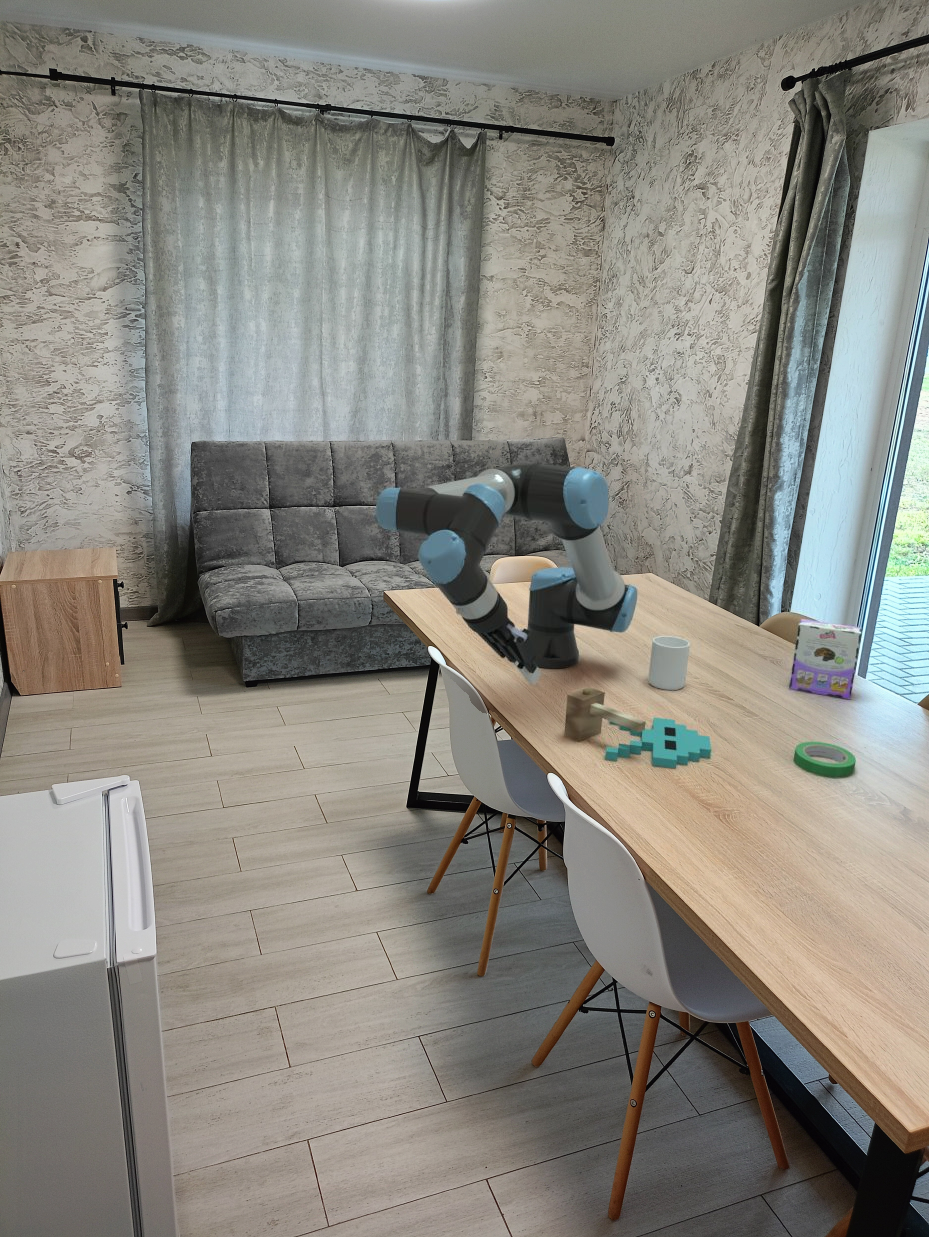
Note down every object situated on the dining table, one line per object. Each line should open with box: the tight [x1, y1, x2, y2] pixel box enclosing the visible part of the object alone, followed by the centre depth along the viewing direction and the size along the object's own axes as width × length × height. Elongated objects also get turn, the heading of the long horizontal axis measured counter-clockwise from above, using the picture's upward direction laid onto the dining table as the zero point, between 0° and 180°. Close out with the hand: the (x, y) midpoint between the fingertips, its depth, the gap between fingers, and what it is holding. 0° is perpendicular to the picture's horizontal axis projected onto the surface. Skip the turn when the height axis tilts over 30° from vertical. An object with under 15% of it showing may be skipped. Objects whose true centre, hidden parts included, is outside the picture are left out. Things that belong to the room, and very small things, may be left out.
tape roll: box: [793, 741, 857, 779], centre depth 176 cm, size 11×11×3 cm
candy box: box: [788, 618, 863, 700], centre depth 213 cm, size 14×6×16 cm, turn 65°
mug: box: [648, 635, 691, 691], centre depth 215 cm, size 9×12×11 cm
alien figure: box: [605, 717, 712, 769], centre depth 182 cm, size 20×2×20 cm
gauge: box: [563, 686, 647, 743], centre depth 180 cm, size 16×7×10 cm, turn 44°
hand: (535, 678), depth 169 cm, fingers closed
